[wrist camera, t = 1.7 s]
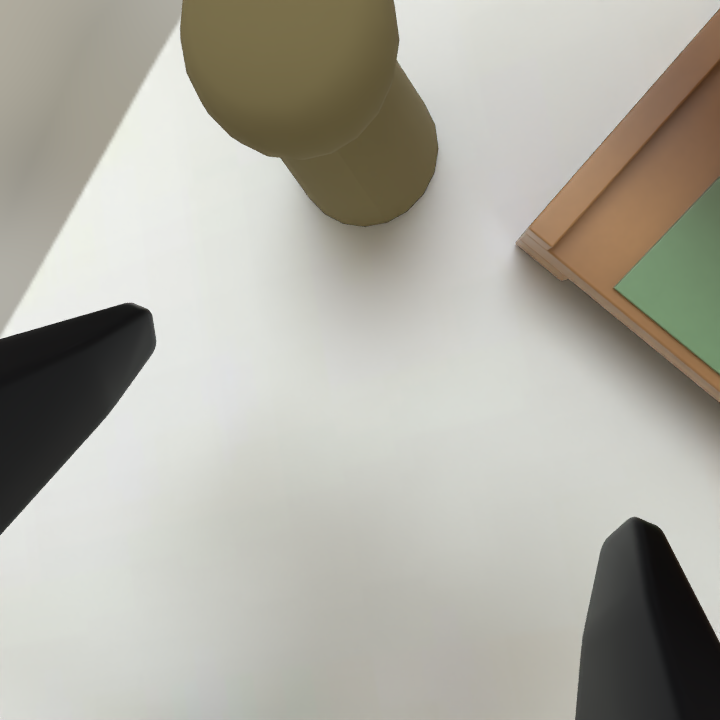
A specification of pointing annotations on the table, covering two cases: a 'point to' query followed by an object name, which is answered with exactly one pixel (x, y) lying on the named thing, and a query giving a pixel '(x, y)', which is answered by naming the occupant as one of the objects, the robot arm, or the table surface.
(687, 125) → the shelf
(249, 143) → the olive pawn
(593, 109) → the table surface
